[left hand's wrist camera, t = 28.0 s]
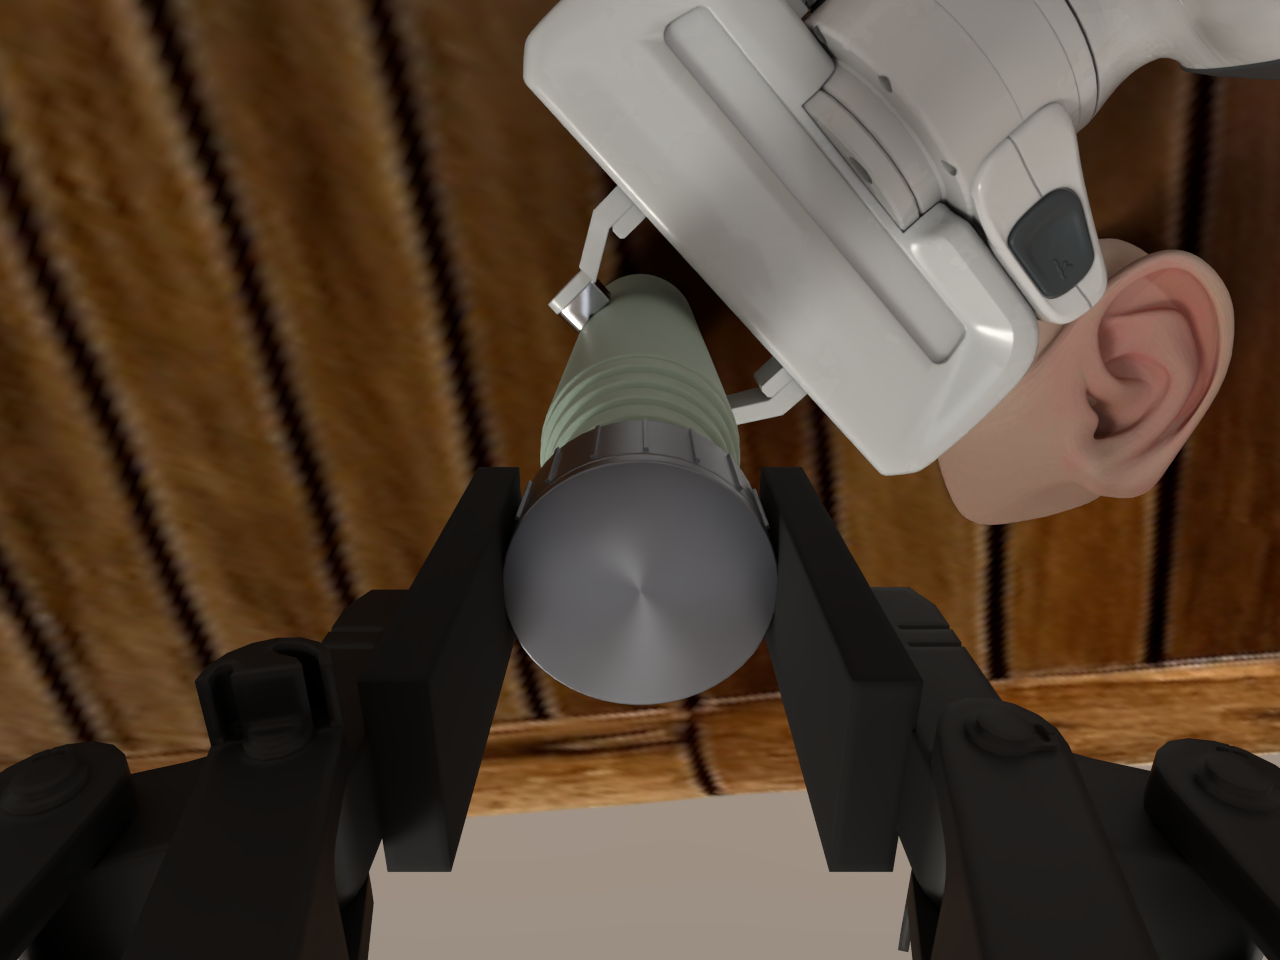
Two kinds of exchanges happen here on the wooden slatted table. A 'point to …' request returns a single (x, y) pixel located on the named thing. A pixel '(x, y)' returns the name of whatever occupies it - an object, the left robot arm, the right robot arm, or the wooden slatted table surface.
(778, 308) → the right robot arm
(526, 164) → the wooden slatted table surface
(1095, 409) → the anatomical model
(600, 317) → the bottle
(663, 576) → the cap
